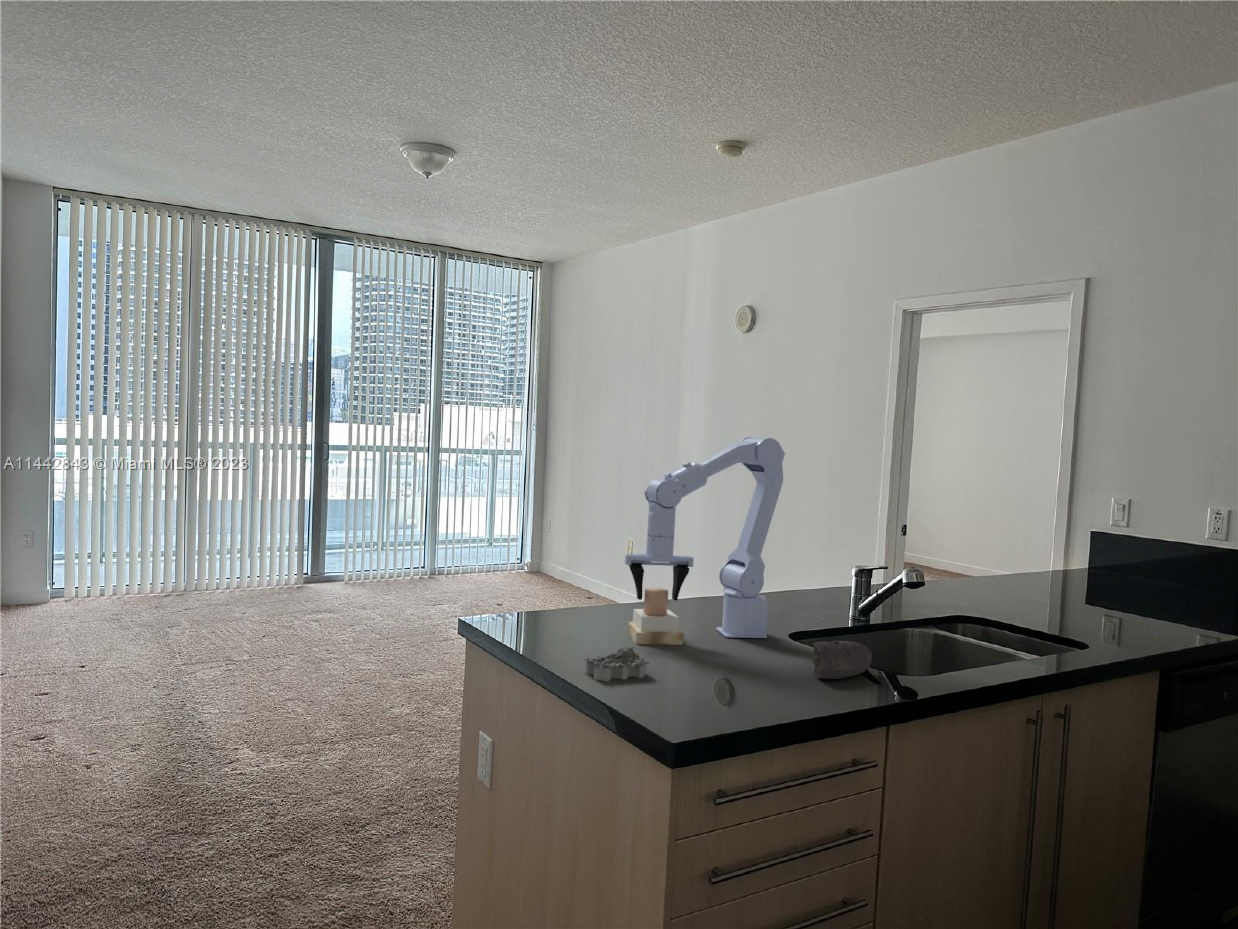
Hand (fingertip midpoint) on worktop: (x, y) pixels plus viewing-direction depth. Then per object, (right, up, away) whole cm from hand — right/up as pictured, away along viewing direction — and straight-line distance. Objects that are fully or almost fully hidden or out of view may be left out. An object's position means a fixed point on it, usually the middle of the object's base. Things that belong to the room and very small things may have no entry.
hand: (657, 599), depth 175 cm
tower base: (-1, -9, 0) cm, 9 cm away
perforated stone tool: (+33, -11, -21) cm, 41 cm away
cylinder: (0, -3, 0) cm, 3 cm away
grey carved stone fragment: (-9, -9, -28) cm, 31 cm away
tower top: (0, -6, +1) cm, 6 cm away
